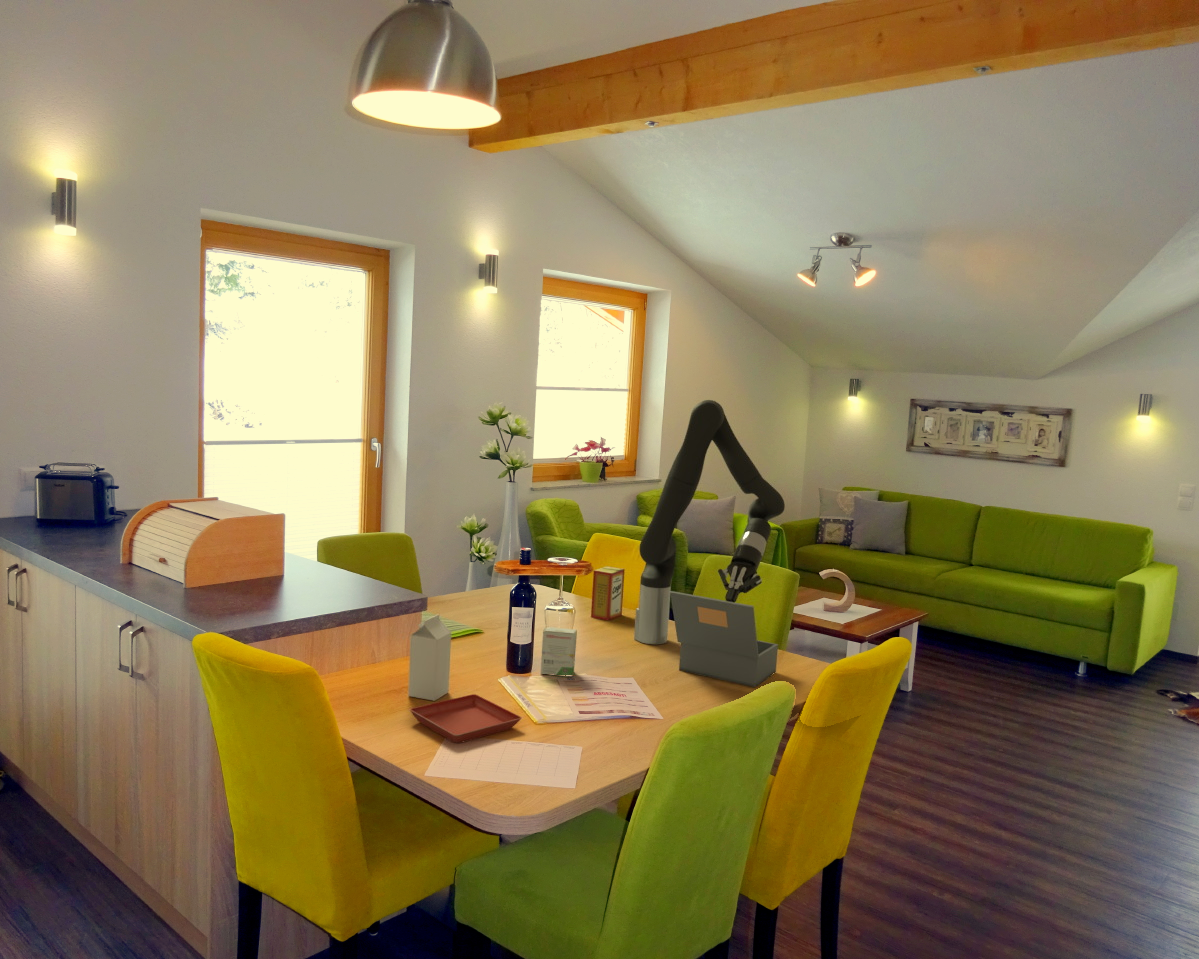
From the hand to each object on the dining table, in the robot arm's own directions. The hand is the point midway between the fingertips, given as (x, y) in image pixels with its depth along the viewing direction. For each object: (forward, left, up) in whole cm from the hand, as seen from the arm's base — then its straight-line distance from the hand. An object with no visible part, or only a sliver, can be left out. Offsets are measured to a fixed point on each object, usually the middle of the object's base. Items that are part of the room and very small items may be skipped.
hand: (729, 602), depth 251 cm
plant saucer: (-31, -74, -20) cm, 82 cm away
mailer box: (0, +2, -20) cm, 20 cm away
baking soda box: (-55, +31, -20) cm, 66 cm away
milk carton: (-50, -64, -20) cm, 83 cm away
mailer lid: (0, -10, -4) cm, 10 cm away
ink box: (-35, -30, -20) cm, 50 cm away
